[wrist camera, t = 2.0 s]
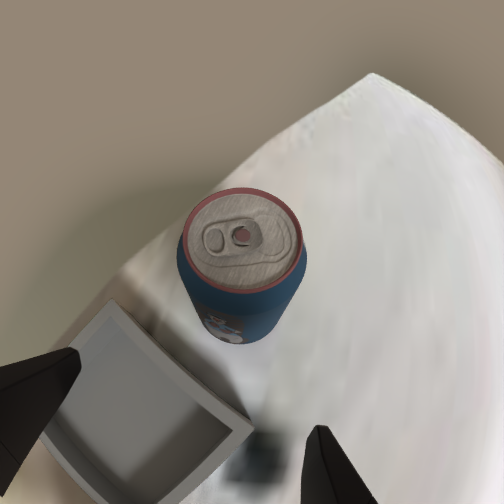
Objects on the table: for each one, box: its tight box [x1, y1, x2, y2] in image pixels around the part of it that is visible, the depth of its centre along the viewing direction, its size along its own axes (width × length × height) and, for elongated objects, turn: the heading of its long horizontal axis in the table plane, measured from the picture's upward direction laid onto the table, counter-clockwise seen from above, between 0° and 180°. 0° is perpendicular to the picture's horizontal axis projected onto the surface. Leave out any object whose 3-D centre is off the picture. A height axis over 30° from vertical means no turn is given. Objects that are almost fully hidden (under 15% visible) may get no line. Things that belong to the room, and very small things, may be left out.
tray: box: [39, 298, 255, 504], centre depth 16 cm, size 14×14×4 cm
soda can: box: [177, 188, 307, 344], centre depth 18 cm, size 7×7×12 cm
